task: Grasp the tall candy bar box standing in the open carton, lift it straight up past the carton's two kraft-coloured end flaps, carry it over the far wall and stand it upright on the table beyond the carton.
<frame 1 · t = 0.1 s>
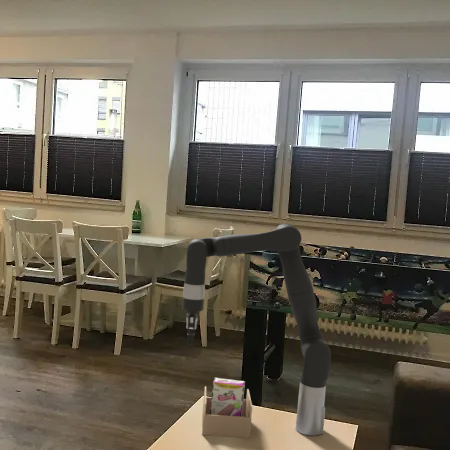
hand: (190, 341, 198), 29 cm above the table, tool pointing down, fingers open, 8 cm apart
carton: (225, 426, 200), on the table
candy bar box: (225, 426, 200), resting in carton
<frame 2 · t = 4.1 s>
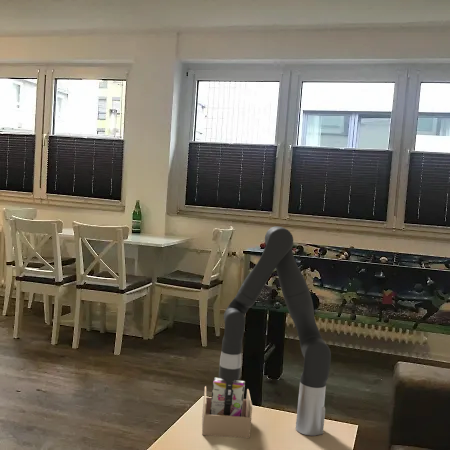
hand: (226, 411, 200), 5 cm above the table, tool pointing down, fingers closed on candy bar box, 5 cm apart
candy bar box: (225, 426, 200), resting in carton, touching gripper
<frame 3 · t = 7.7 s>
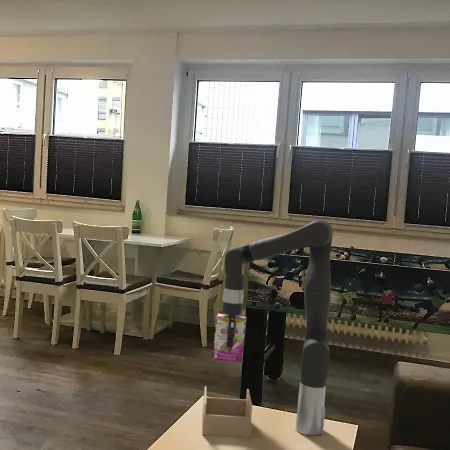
hand: (228, 344, 211), 26 cm above the table, tool pointing down, fingers closed on candy bar box, 5 cm apart
candy bar box: (227, 359, 211), point 20 cm above the table, touching gripper
when the fingers open (7 cm above the table, at t = 11.5 s): candy bar box drops 1 cm, on the table.
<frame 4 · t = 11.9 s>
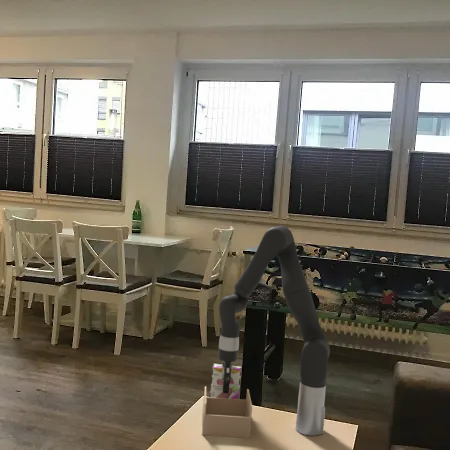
hand: (225, 388, 216), 8 cm above the table, tool pointing down, fingers open, 8 cm apart
candy bar box: (223, 409, 216), on the table
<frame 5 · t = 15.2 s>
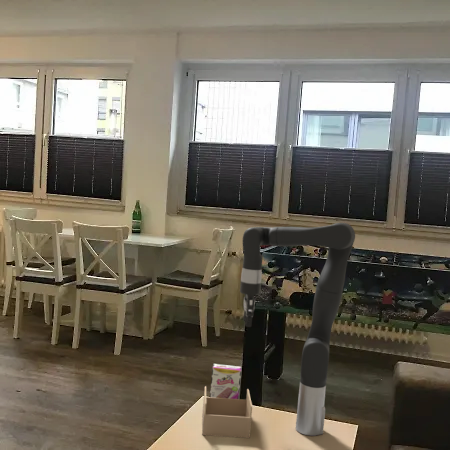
hand: (247, 323, 211), 34 cm above the table, tool pointing down, fingers open, 8 cm apart
nothing on the table moved.
at the end: candy bar box inside the target area (0.3 cm from its centre), on the table; candy bar box tilted 0°; the gripper is holding nothing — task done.
